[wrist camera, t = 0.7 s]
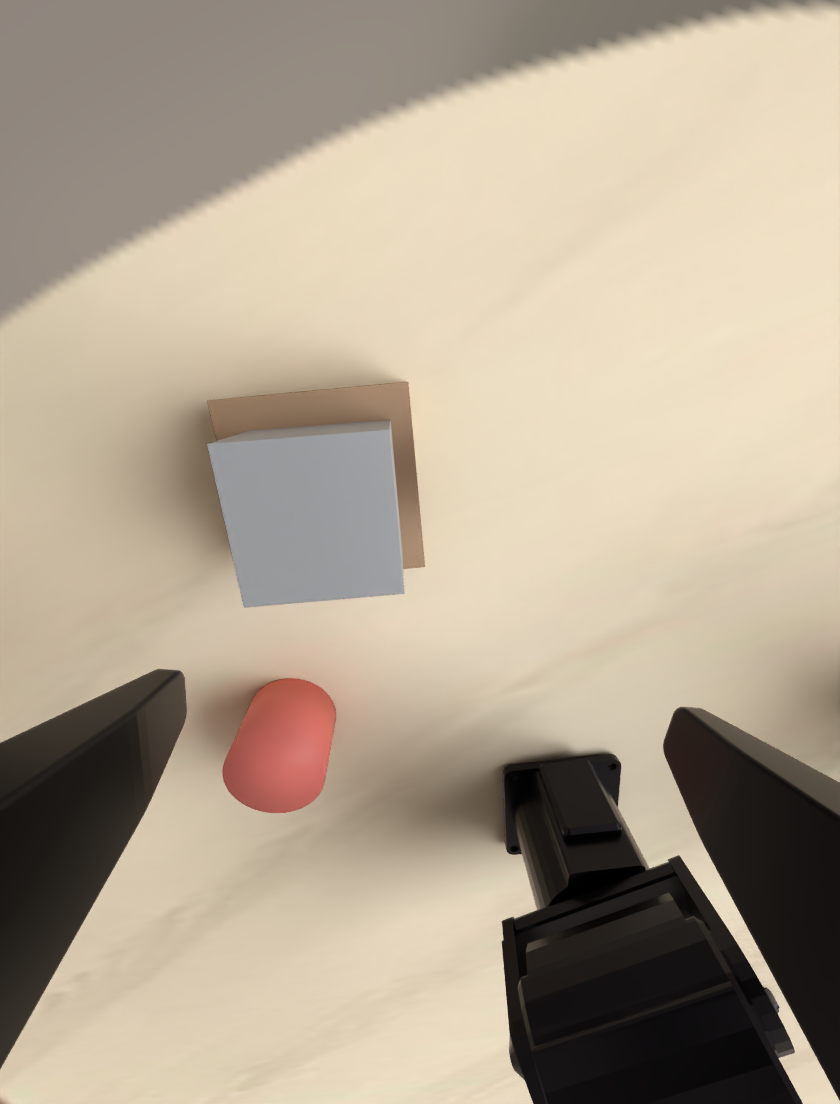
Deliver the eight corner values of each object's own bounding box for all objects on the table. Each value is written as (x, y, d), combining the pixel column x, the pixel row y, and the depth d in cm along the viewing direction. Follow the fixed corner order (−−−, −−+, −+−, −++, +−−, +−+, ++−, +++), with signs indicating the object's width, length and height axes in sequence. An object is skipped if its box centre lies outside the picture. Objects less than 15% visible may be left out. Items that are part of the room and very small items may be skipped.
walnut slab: (421, 542, 21) (424, 566, 18) (270, 557, 21) (250, 584, 18) (406, 381, 19) (407, 381, 16) (235, 397, 19) (206, 400, 16)
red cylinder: (341, 742, 25) (332, 807, 21) (259, 751, 25) (235, 817, 21) (328, 673, 23) (316, 730, 19) (241, 682, 23) (211, 741, 19)
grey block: (402, 550, 18) (404, 593, 14) (275, 561, 18) (243, 607, 14) (390, 419, 16) (389, 429, 13) (250, 430, 16) (206, 444, 13)
